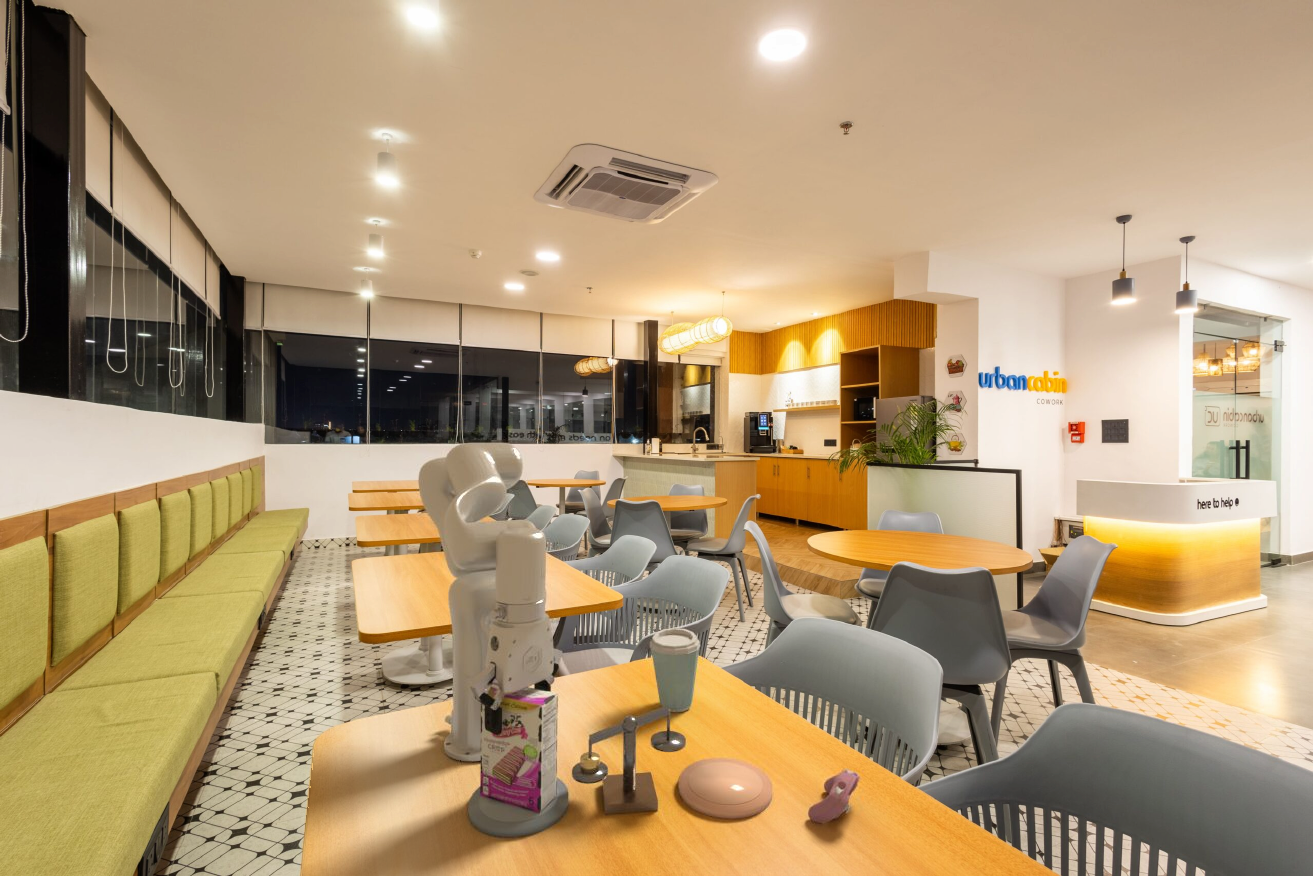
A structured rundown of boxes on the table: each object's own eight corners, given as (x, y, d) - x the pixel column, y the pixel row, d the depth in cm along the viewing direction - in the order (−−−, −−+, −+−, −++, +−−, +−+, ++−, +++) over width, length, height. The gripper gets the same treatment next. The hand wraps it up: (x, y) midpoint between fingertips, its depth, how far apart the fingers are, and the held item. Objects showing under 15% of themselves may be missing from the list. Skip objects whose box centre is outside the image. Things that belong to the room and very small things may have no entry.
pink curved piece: (831, 840, 90) (853, 805, 88) (804, 817, 92) (825, 782, 91) (848, 806, 99) (869, 772, 97) (823, 785, 101) (843, 752, 99)
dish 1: (447, 811, 94) (447, 802, 94) (523, 768, 106) (523, 760, 106) (513, 852, 85) (513, 842, 85) (588, 800, 97) (588, 792, 97)
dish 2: (660, 794, 98) (660, 786, 98) (709, 755, 110) (710, 748, 110) (743, 832, 89) (743, 823, 89) (788, 785, 101) (788, 777, 101)
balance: (571, 817, 92) (572, 724, 92) (571, 787, 100) (572, 701, 100) (689, 808, 95) (690, 717, 95) (680, 779, 103) (681, 695, 103)
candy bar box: (478, 798, 95) (478, 691, 95) (498, 781, 99) (498, 679, 99) (540, 816, 91) (541, 704, 90) (558, 797, 95) (559, 691, 95)
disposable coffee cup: (701, 718, 125) (701, 644, 125) (648, 717, 125) (648, 643, 125) (698, 695, 136) (699, 627, 135) (649, 695, 136) (649, 626, 136)
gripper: (490, 629, 86) (488, 751, 86) (577, 601, 100) (575, 706, 100) (457, 618, 90) (455, 734, 91) (545, 593, 104) (543, 693, 105)
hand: (518, 719), depth 96 cm, fingers open, 9 cm apart
